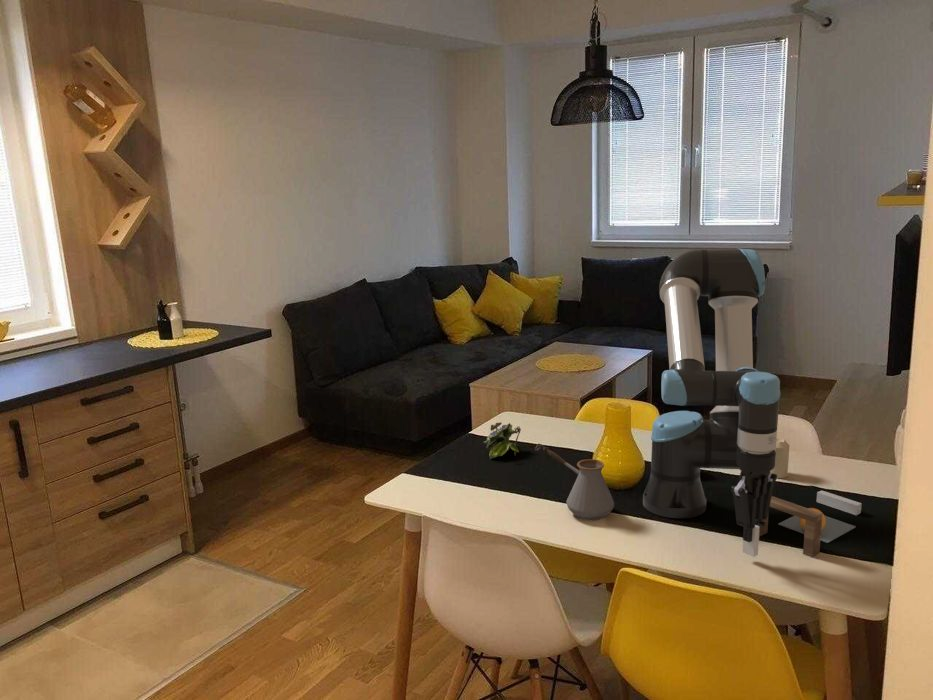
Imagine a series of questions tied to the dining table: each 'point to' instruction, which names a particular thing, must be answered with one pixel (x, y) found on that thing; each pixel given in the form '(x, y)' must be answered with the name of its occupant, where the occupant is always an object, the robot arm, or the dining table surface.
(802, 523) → the ball
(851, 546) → the dining table surface
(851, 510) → the wall
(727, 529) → the dining table surface
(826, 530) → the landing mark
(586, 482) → the coffee pot
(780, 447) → the candle
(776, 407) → the robot arm
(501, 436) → the green leafy plant
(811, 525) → the bridge
